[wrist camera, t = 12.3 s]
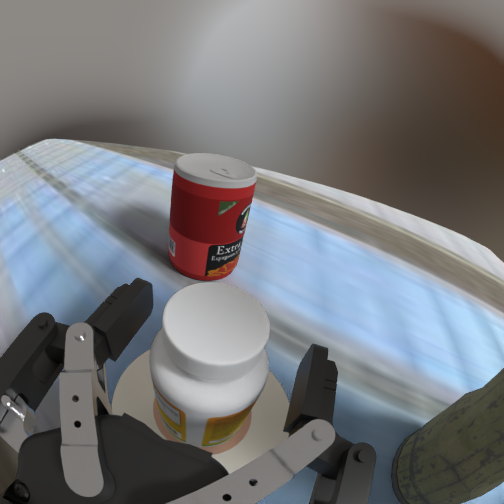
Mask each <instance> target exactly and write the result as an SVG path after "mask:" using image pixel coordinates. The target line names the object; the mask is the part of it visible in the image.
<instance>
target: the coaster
mask: <svg viewBox="0 0 504 504" xmlns="http://www.w3.org/2000/svg"><path fill="white" fill-rule="evenodd" d="M149 354H150V350H148V351H146V352H145V353H143V354H141V355H140V356H139V357H137V358H136V359H135V360H134V361H133V362H132V363H131V364H130V365H129V366H128V367H127V368H126V369H125V371H124V372H123V374H122V376H121V377H120V379H119V381H118V383H117V385H116V388H115V391H114V395H113V400H112V414H113V415H119V416H122V415H123V414H124V412H125V413H126V414H128V415H130V416H132V417H134V418H135V419H137V420H139V421H141V422H143V423H145V424H146V425H147V426H148V427H149V428H151V429H152V430H153V431H154V432H155V433H157V434H158V435H159V436H160V437H162V438H163V439H165V440H170V441H175V442H180V443H183V442H181V441H179V440H178V439H176V438H175V437H174V436H173V435H171V434H170V433H169V431H168V430H167V429H166V428H165V426H164V424H163V422H162V420H161V417H160V414H159V411H158V406H157V402H156V398H155V393H154V388H153V383H152V378H151V373H150V364H149ZM289 405H290V404H289V401H288V398H287V396H286V393H285V391H284V389H283V387H282V385H281V384H280V382H279V381H278V380H277V378H276V377H275V376H274V374H273V373H272V372H271V371H270V370H269V373H268V378H267V381H266V384H265V386H264V389H263V391H262V392H261V394H260V396H259V398H258V399H257V401H256V403H255V404H254V406H253V408H252V409H251V411H250V413H249V414H248V416H247V418H246V419H245V421H244V422H243V424H242V426H241V427H240V429H239V430H238V432H237V433H236V434H235V435H234V436H233V437H232V438H231V439H229V440H228V441H226V442H225V443H222V444H220V445H217V446H213V447H198V448H200V449H203V450H206V451H208V452H211V453H213V454H212V456H211V457H213V458H214V459H216V460H217V461H218V462H220V463H221V464H222V465H223V466H224V467H225V469H226V470H227V471H228V473H229V474H231V473H232V472H234V471H236V470H238V469H239V468H241V467H243V466H245V465H246V464H248V463H250V462H251V461H253V460H255V459H256V458H258V457H259V456H261V455H263V454H264V453H266V452H267V451H269V450H271V449H272V448H274V447H276V446H277V445H279V444H280V443H281V442H283V441H284V440H286V439H287V438H288V436H289V433H287V432H283V429H284V425H285V421H286V417H287V413H288V409H289Z"/></svg>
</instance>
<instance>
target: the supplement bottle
mask: <svg viewBox="0 0 504 504" xmlns="http://www.w3.org/2000/svg"><path fill="white" fill-rule="evenodd" d="M269 333H270V324H269V319H268V316H267V314H266V312H265V310H264V308H263V307H262V305H261V304H260V303H259V302H258V301H257V300H256V299H255V298H254V297H252V296H251V295H250V294H248V293H247V292H245V291H243V290H241V289H239V288H237V287H234V286H231V285H228V284H223V283H216V282H204V283H197V284H193V285H190V286H187V287H185V288H183V289H181V290H179V291H178V292H176V293H175V294H174V295H173V296H172V297H171V298H170V299H169V301H168V302H167V304H166V306H165V308H164V311H163V317H162V328H161V329H160V330H159V331H158V333H157V334H156V336H155V338H154V339H153V342H152V345H151V348H150V354H149V364H150V373H151V378H152V383H153V388H154V393H155V398H156V402H157V406H158V411H159V414H160V417H161V420H162V422H163V424H164V426H165V428H166V429H167V430H168V431H169V433H170V434H171V435H173V436H174V437H175V438H176V439H178V440H179V441H181V442H183V443H185V444H190V445H193V446H195V447H213V446H217V445H220V444H222V443H225V442H226V441H228V440H229V439H231V438H232V437H233V436H234V435H235V434H236V433H237V432H238V430H239V429H240V427H241V426H242V424H243V422H244V421H245V419H246V418H247V416H248V414H249V413H250V411H251V409H252V408H253V406H254V404H255V403H256V401H257V399H258V398H259V396H260V394H261V392H262V391H263V389H264V386H265V384H266V381H267V378H268V373H269V360H268V356H267V352H266V349H265V346H266V344H267V341H268V338H269Z"/></svg>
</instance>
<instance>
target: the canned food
mask: <svg viewBox="0 0 504 504" xmlns="http://www.w3.org/2000/svg"><path fill="white" fill-rule="evenodd" d="M256 177H257V172H256V170H255V169H254V168H253V167H251V166H250V165H248V164H247V163H245V162H242V161H240V160H237V159H235V158H231V157H227V156H223V155H217V154H208V153H196V154H188V155H184V156H181V157H179V158H177V160H176V161H175V166H174V174H173V182H172V194H171V209H170V227H169V256H170V259H171V262H172V264H173V266H174V267H175V268H176V269H177V270H178V271H179V272H181V273H182V274H184V275H186V276H188V277H190V278H193V279H197V280H205V281H211V280H218V279H222V278H224V277H226V276H228V275H229V274H230V273H231V272H232V271H233V270H234V268H235V267H236V265H237V262H238V259H239V254H240V250H241V246H242V241H243V237H244V233H245V228H246V224H247V220H248V215H249V211H250V207H251V203H252V198H253V194H254V189H255V184H256Z"/></svg>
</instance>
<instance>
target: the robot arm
mask: <svg viewBox="0 0 504 504" xmlns="http://www.w3.org/2000/svg"><path fill="white" fill-rule="evenodd" d="M152 309H153V290H152V284H151V283H149V282H147V281H145V280H142V279H140V278H136V279H135V280H134V281H133V282H132V283H131V284H130V285H128V284H124V285H122V286H120V287H118V288H116V289H115V290H114V291H113V293H112V294H111V295H110V296H109V297H108V298H107V299H106V300H105V302H103V303H102V304H101V305H100V306H99V307H98V308H97V310H96V311H95V312H94V313H93V314H92V315H91V316H90V317H89V318H88V319H87V320H86V321H85V322H84V323H83V322H78V323H75V324H73V325H71V326H69V325H65V324H61V323H57V322H55V320H54V317H53V316H52V315H51V314H49V313H40V314H38V315H36V316H35V317H34V318H33V319H32V320H31V321H30V323H29V324H28V325H27V326H26V327H25V328H24V330H23V331H22V332H21V333H20V334H19V336H18V337H17V338H16V339H15V340H14V342H13V343H12V344H11V345H10V347H9V348H8V349H7V350H6V352H5V353H4V354H3V356H2V357H1V358H0V436H1V437H2V438H3V439H4V440H5V441H6V442H7V443H8V444H9V445H10V446H11V447H12V448H13V449H14V450H15V451H17V452H18V453H19V457H18V462H19V463H18V472H17V476H16V479H15V481H14V482H13V483H12V484H11V485H10V486H9V487H8V488H7V489H6V490H5V491H4V492H3V493H2V494H1V495H0V504H255V503H257V502H259V501H260V500H262V499H263V498H265V497H266V496H268V495H269V494H271V493H272V492H274V491H275V490H277V489H278V488H280V487H281V486H283V485H284V484H285V483H287V482H288V481H290V480H291V479H292V478H293V477H294V476H295V474H297V473H298V472H299V471H300V470H302V469H303V468H304V467H305V466H307V467H309V468H311V469H312V470H314V471H316V472H318V475H317V479H316V482H315V486H314V489H313V492H312V495H311V498H310V501H309V504H367V503H368V499H369V495H370V490H371V485H372V480H373V474H374V468H375V462H376V453H375V450H374V449H373V447H372V446H371V445H369V444H367V443H357V444H353V443H351V442H349V441H347V440H345V439H343V438H342V437H340V436H339V435H338V434H337V433H336V432H335V430H334V428H333V424H332V418H333V411H334V403H335V395H336V392H335V391H336V386H337V384H336V383H337V376H338V371H337V368H336V365H335V362H333V361H330V360H327V358H328V348H326V347H323V346H320V345H316V344H312V345H311V346H310V348H309V350H308V351H307V353H306V354H305V356H304V358H303V359H302V361H301V363H300V365H299V368H298V371H297V375H296V379H295V384H294V388H293V393H292V397H291V401H290V405H289V409H288V413H287V417H286V421H285V425H284V429H283V432H287V433H289V436H288V438H287V439H286V440H284V441H283V442H281V443H280V444H279V445H277V446H276V447H274V448H272V449H271V450H269V451H267V452H266V453H264V454H263V455H261V456H259V457H258V458H256V459H255V460H253V461H251V462H250V463H248V464H246V465H245V466H243V467H241V468H239V469H238V470H236V471H234V472H232V473H231V474H229V473H228V471H227V470H226V469H225V467H224V466H223V465H222V464H221V463H220V462H218V461H217V460H216V459H214V458H213V457H211V456H212V454H213V453H211V452H208V451H206V450H203V449H200V448H198V447H195V446H193V445H190V444H185V443H180V442H175V441H170V440H165V439H163V438H162V437H160V436H159V435H158V434H157V433H155V432H154V431H153V430H152V429H151V428H149V427H148V426H147V425H146V424H145V423H143V422H141V421H139V420H137V419H135V418H134V417H132V416H130V415H128V414H126V413H125V412H124V414H123V415H122V416H119V415H113V414H112V409H111V404H110V401H109V397H108V390H107V380H106V368H105V362H106V360H107V359H108V358H110V359H112V360H113V361H116V360H117V358H118V357H119V356H120V354H121V353H122V351H123V350H124V349H125V347H126V346H127V345H128V343H129V342H130V341H131V339H132V338H133V337H134V335H135V334H136V333H137V331H138V330H139V329H140V327H141V326H142V325H143V323H144V322H145V321H146V320H147V318H148V317H149V316H150V314H151V312H152ZM63 368H64V371H62V369H63ZM59 374H60V376H59V401H60V422H61V427H60V428H57V429H53V430H49V431H45V432H41V433H37V434H33V428H35V427H36V415H35V411H36V409H37V407H38V406H39V404H40V403H41V401H42V399H43V398H44V396H45V395H46V393H47V392H48V390H49V389H50V387H51V386H52V384H53V383H54V381H55V380H56V378H57V377H58V375H59Z"/></svg>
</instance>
